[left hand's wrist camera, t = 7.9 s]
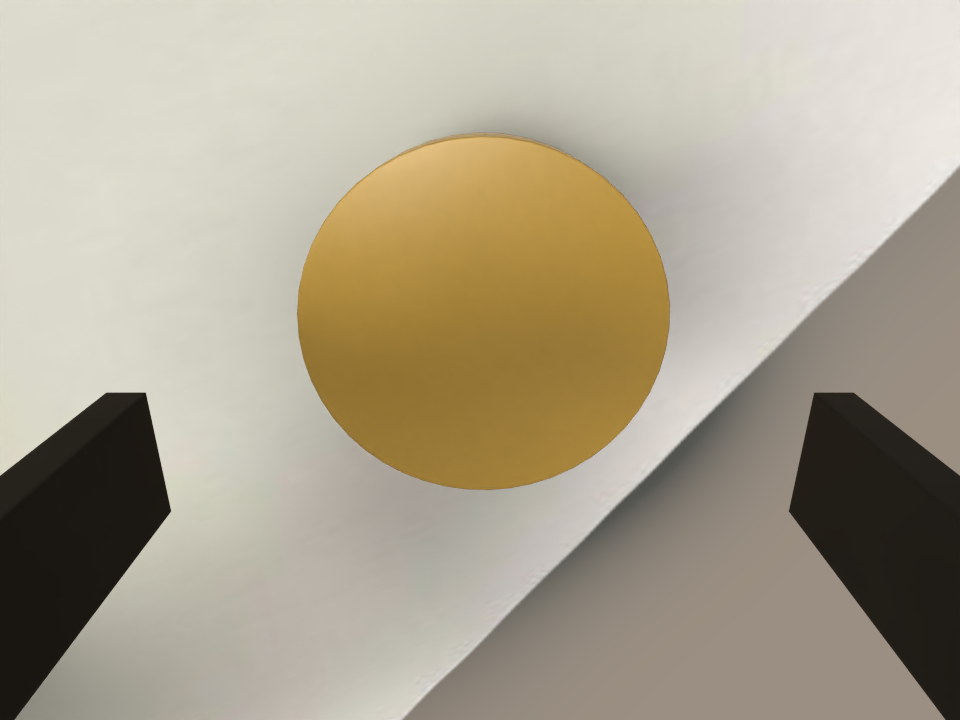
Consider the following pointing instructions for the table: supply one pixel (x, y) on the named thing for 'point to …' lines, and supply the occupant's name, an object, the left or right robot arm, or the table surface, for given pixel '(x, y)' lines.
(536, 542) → the table surface
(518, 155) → the lid
